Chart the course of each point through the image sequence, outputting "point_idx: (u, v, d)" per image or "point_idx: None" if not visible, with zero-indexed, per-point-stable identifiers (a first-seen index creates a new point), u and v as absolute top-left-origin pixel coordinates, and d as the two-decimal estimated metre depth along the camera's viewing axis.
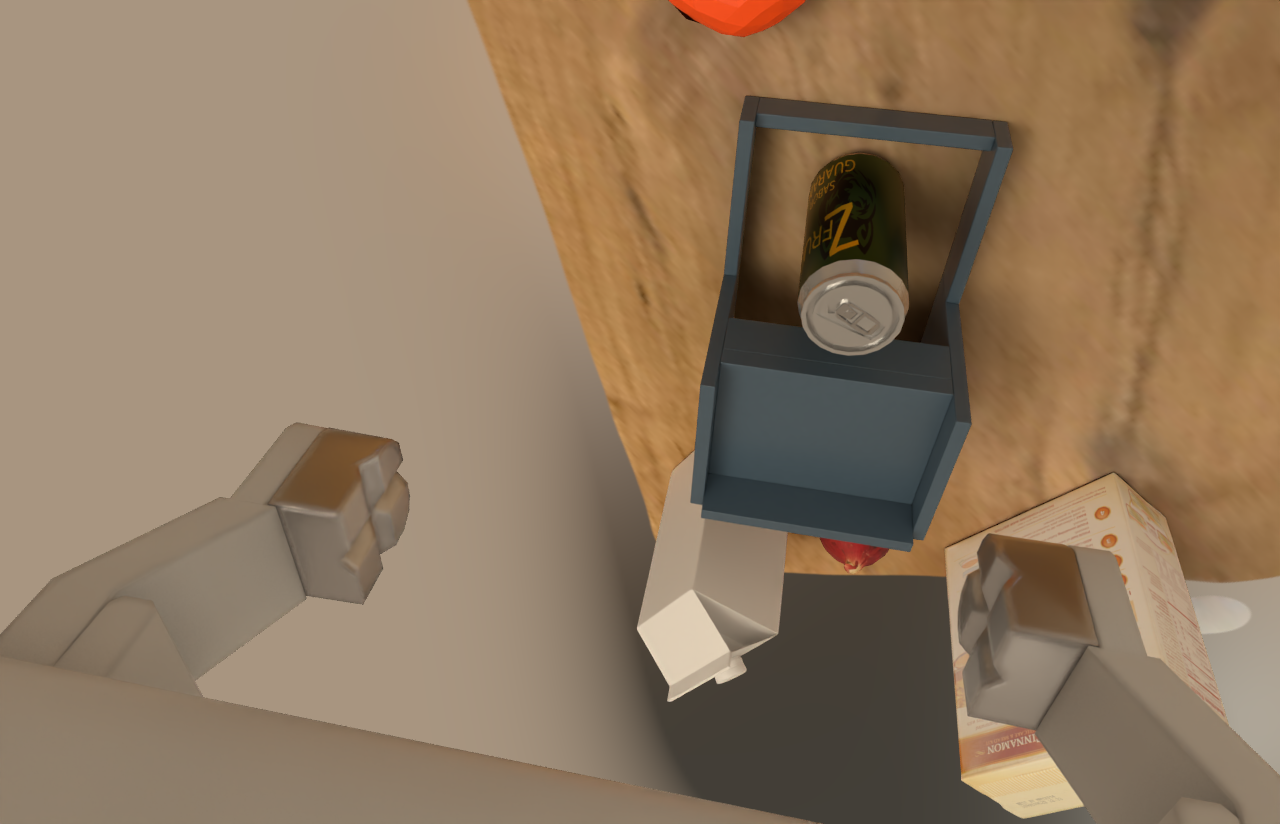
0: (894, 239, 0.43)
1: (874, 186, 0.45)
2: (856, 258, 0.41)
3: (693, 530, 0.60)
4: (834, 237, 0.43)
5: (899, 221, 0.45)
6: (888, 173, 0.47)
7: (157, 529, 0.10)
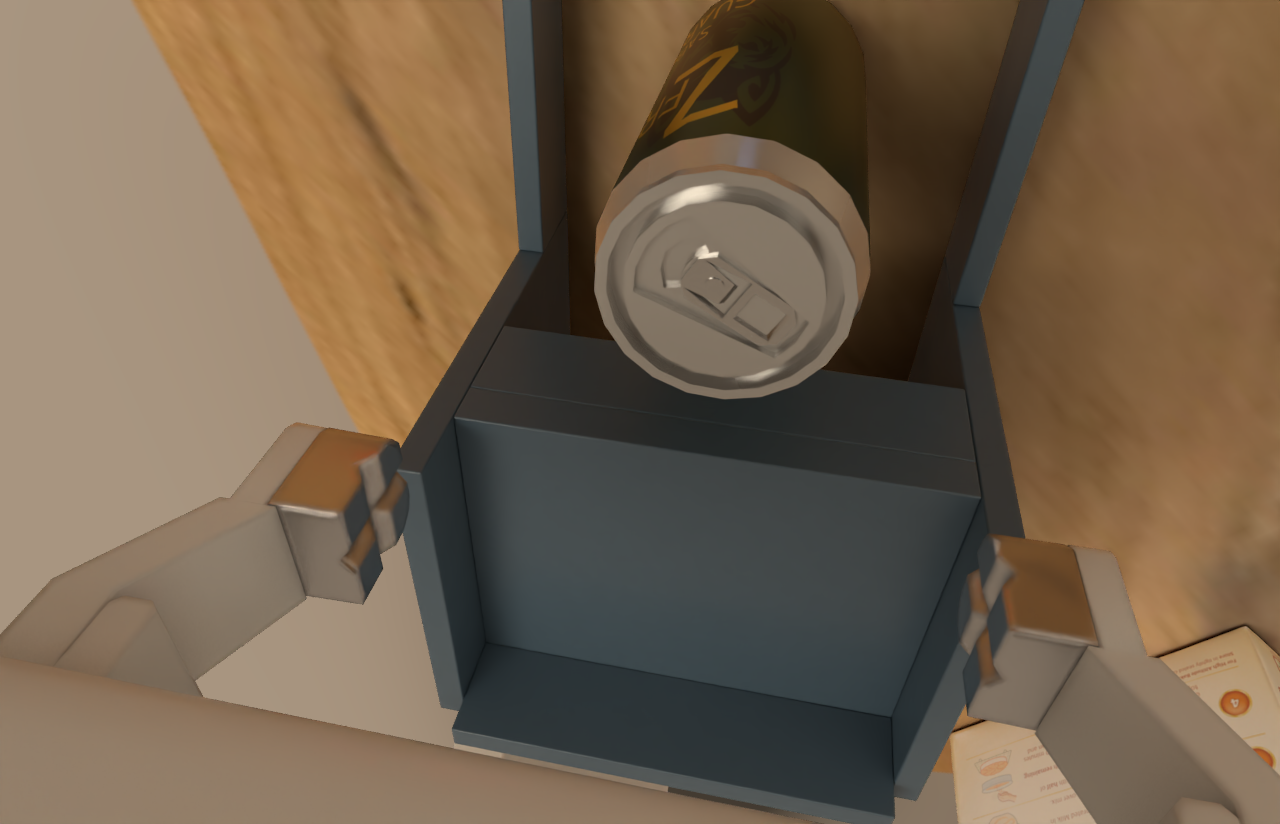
0: (835, 114, 0.17)
1: (793, 24, 0.20)
2: (726, 133, 0.15)
3: None
4: (684, 104, 0.17)
5: (849, 92, 0.19)
6: (827, 15, 0.22)
7: (157, 529, 0.10)
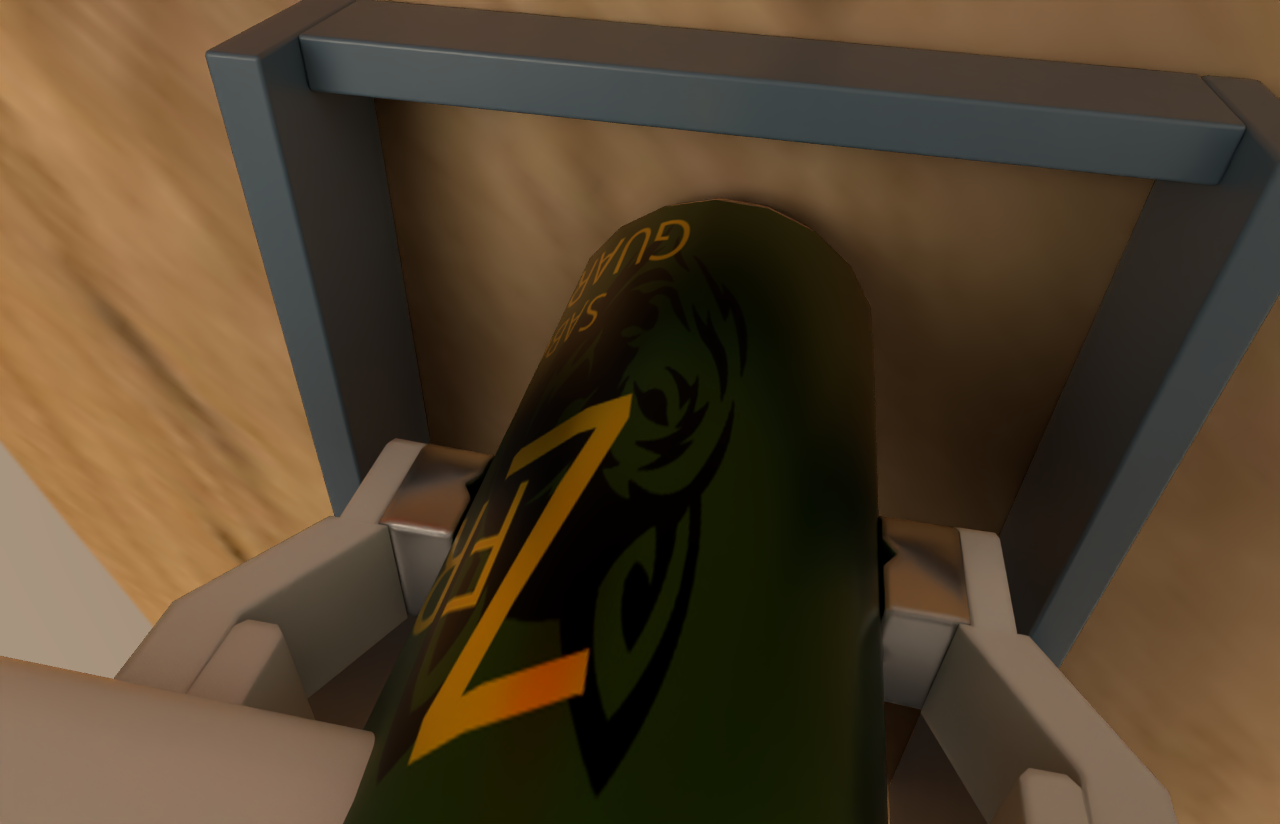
0: (815, 605, 0.08)
1: (744, 323, 0.11)
2: None
3: None
4: (489, 607, 0.08)
5: (845, 480, 0.10)
6: (809, 268, 0.13)
7: (272, 549, 0.10)
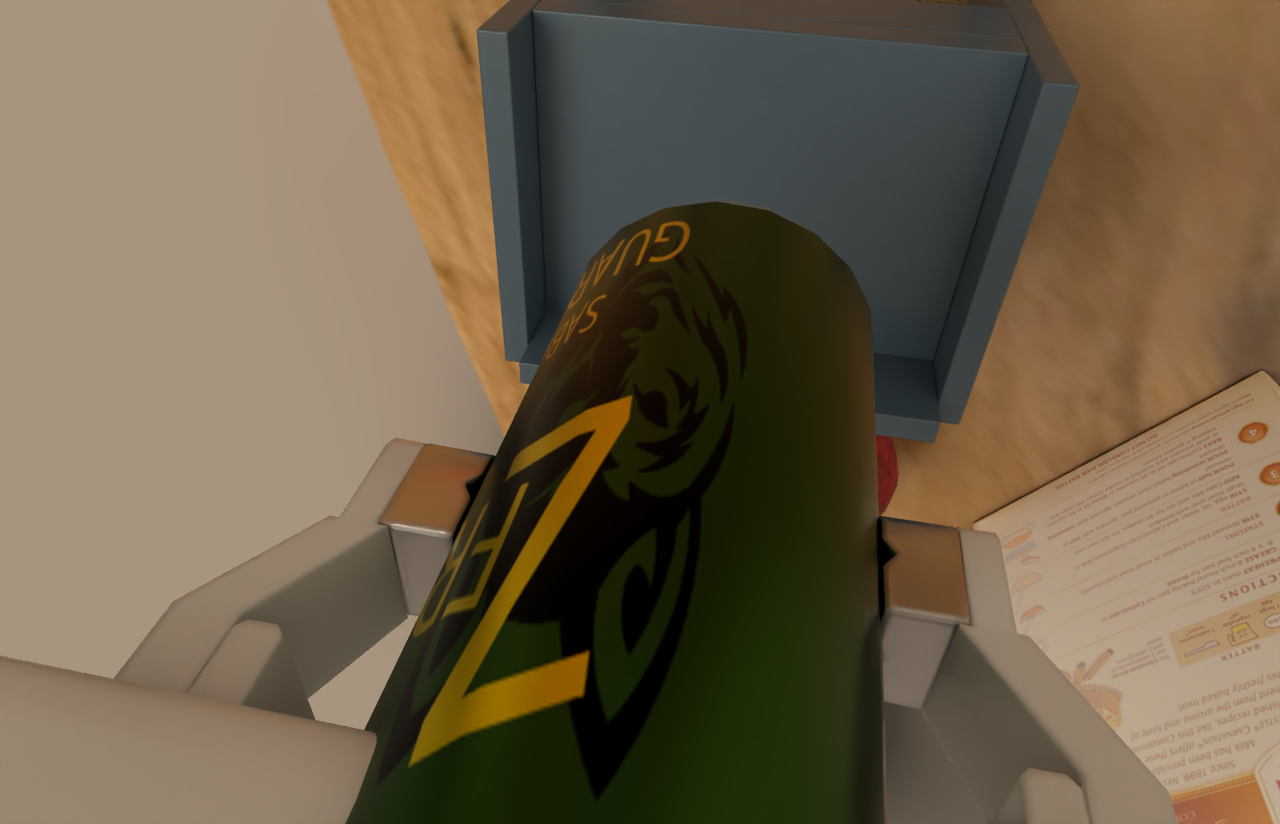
0: (815, 608, 0.08)
1: (744, 324, 0.11)
2: None
3: None
4: (489, 609, 0.08)
5: (845, 482, 0.10)
6: (809, 270, 0.13)
7: (272, 549, 0.10)
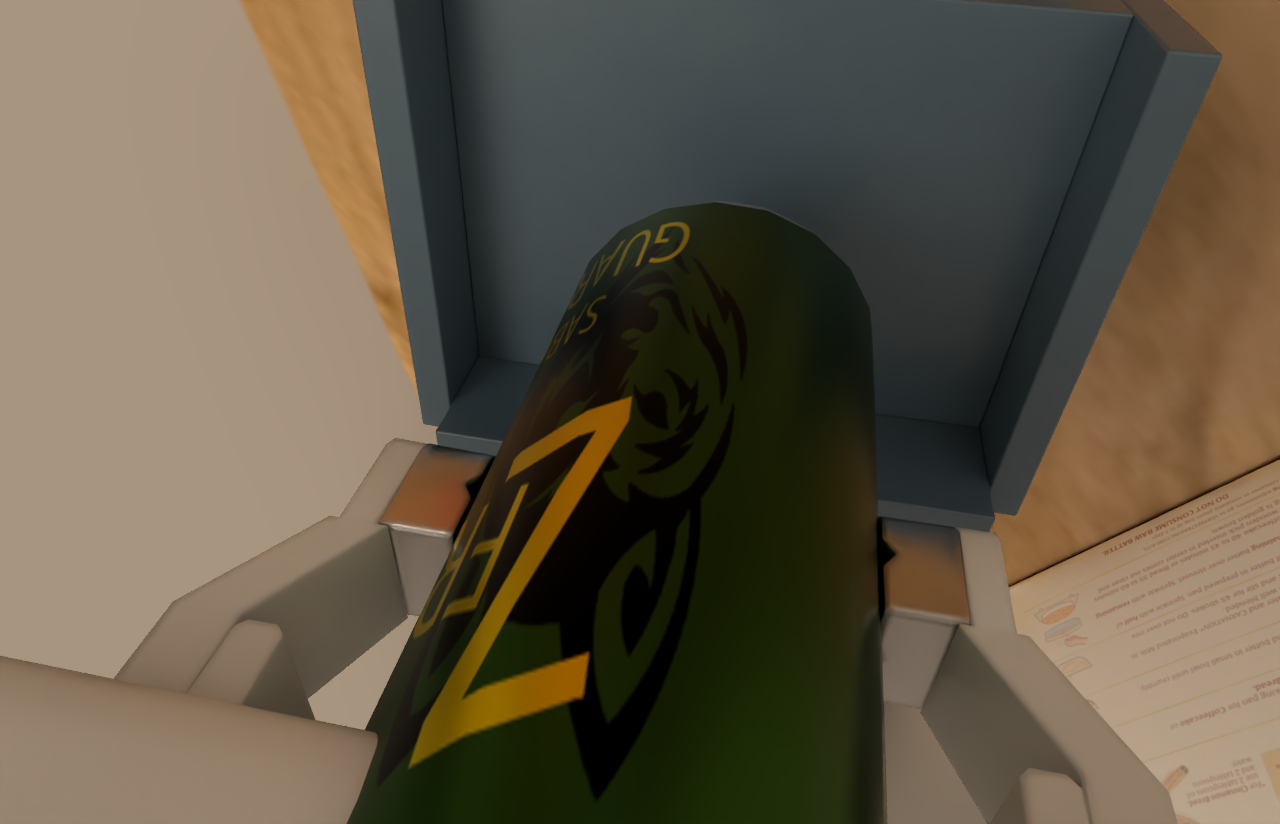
0: (815, 609, 0.08)
1: (744, 325, 0.11)
2: None
3: None
4: (488, 610, 0.08)
5: (845, 483, 0.10)
6: (809, 270, 0.13)
7: (272, 550, 0.10)
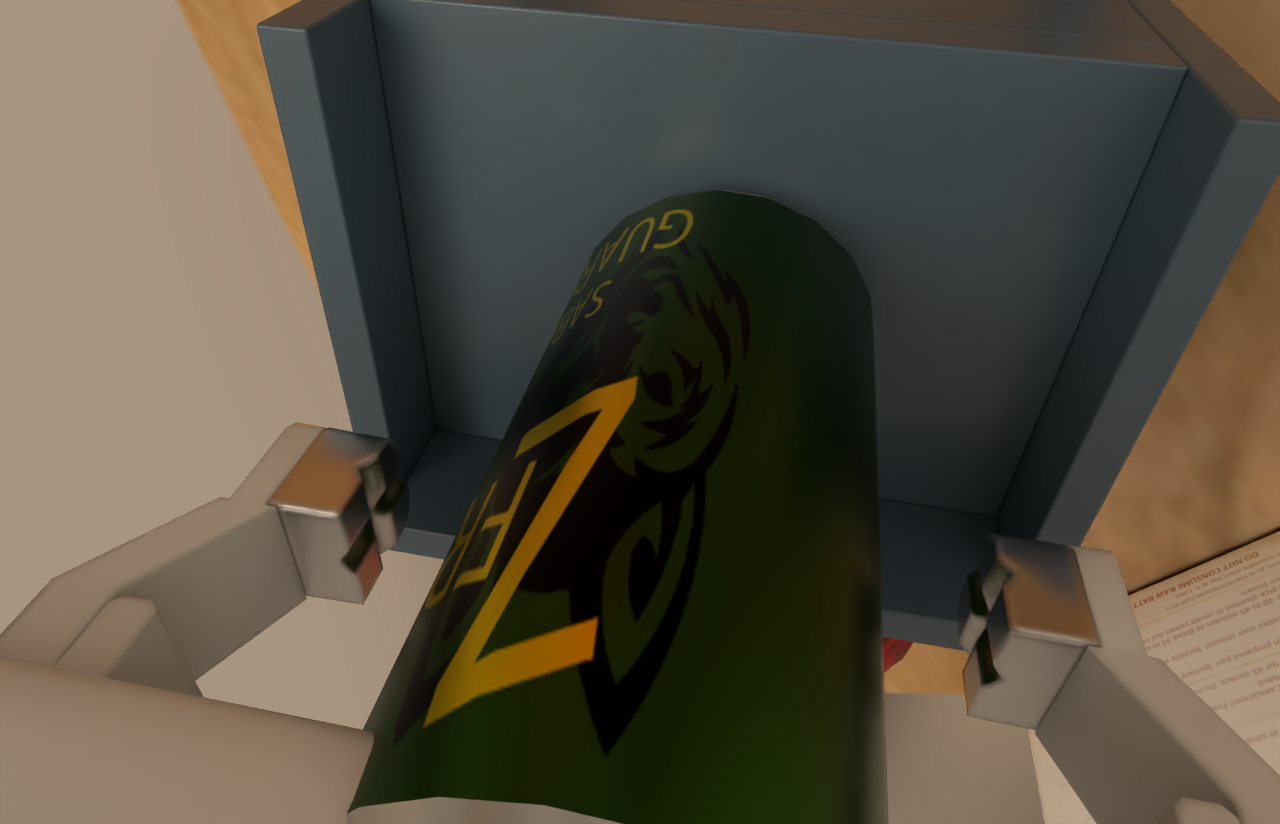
0: (818, 579, 0.09)
1: (746, 308, 0.11)
2: (540, 803, 0.06)
3: None
4: (498, 580, 0.08)
5: (846, 461, 0.10)
6: (810, 256, 0.13)
7: (157, 529, 0.10)
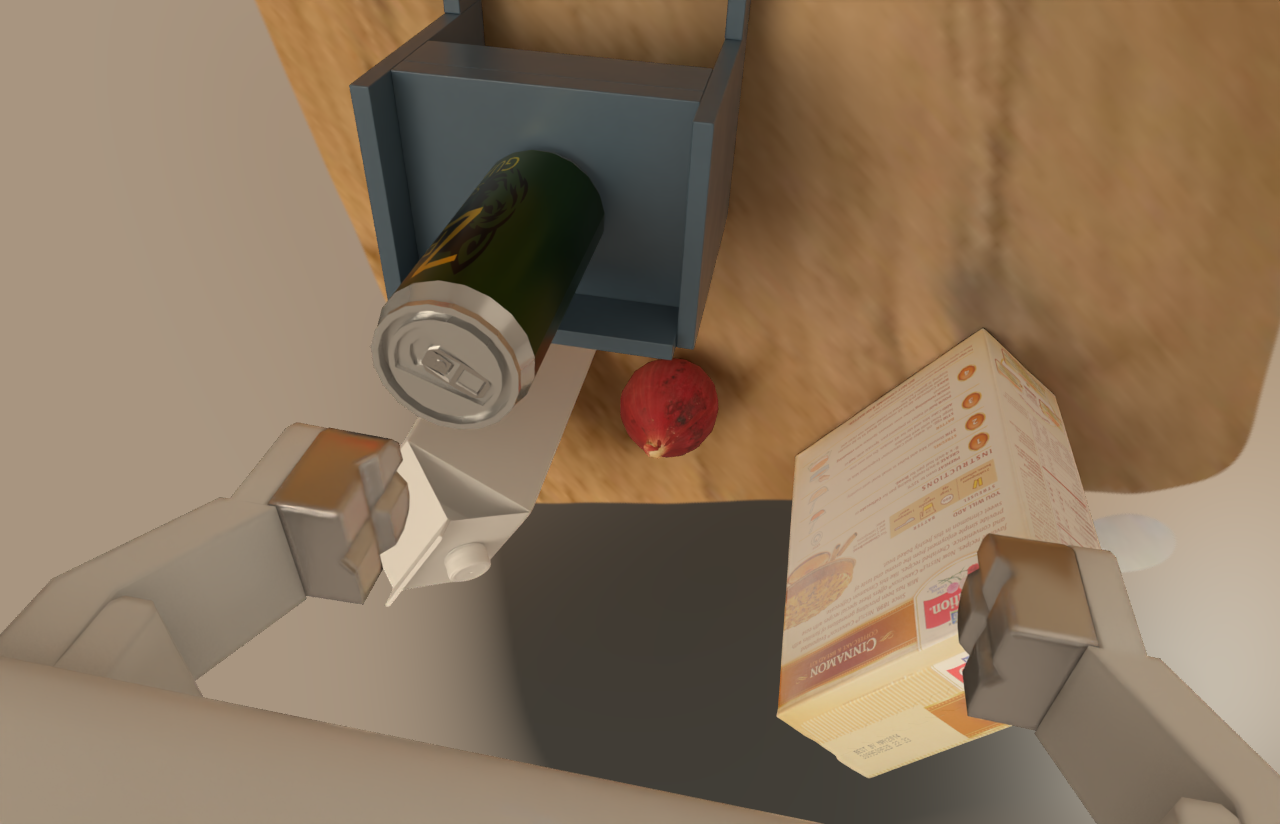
0: (527, 257, 0.29)
1: (527, 188, 0.32)
2: (437, 280, 0.26)
3: None
4: (432, 252, 0.28)
5: (553, 236, 0.31)
6: (563, 174, 0.33)
7: (157, 529, 0.10)
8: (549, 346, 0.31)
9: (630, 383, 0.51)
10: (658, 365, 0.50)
